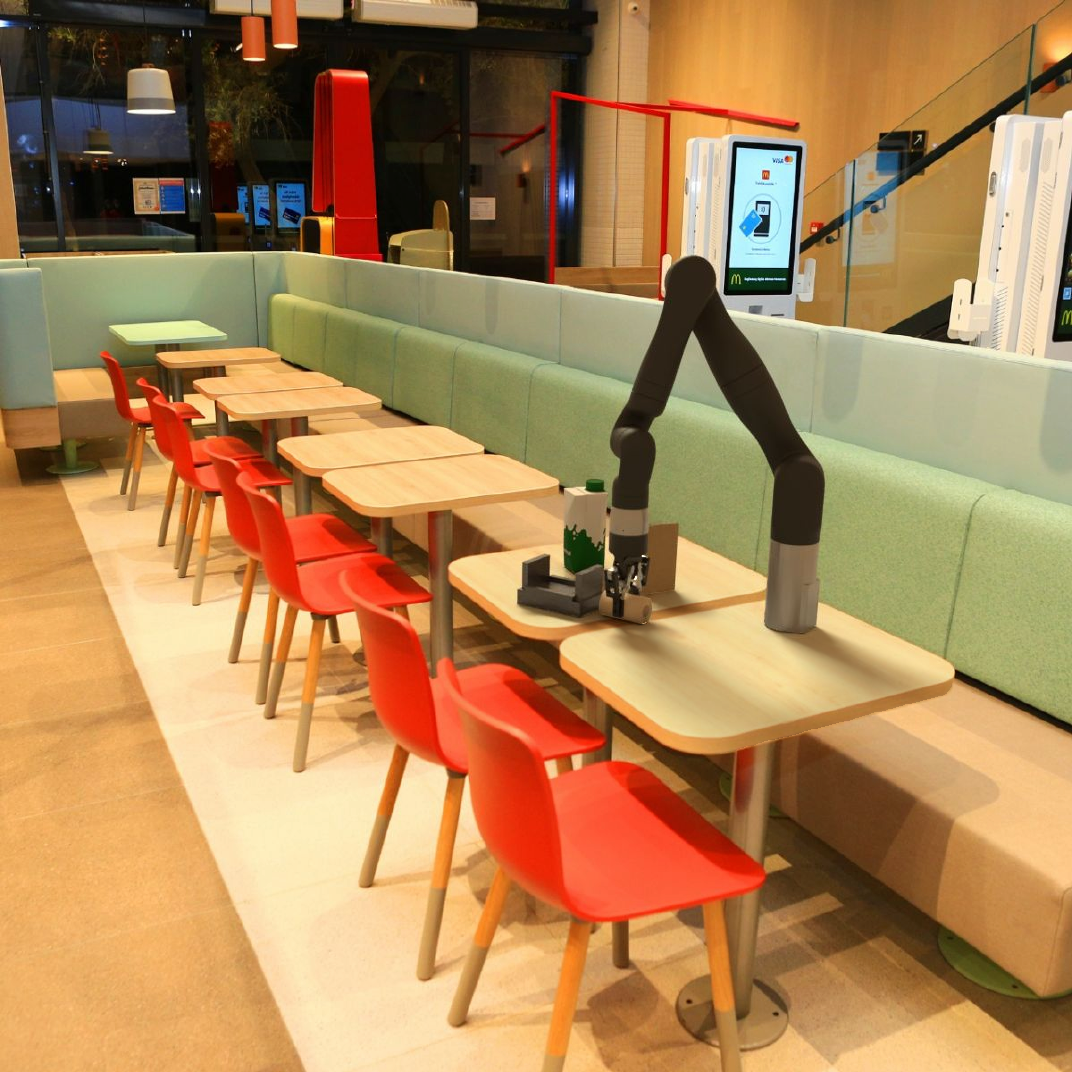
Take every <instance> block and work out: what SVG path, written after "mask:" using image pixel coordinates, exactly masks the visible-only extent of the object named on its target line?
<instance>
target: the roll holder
mask: <svg viewBox="0 0 1072 1072" xmlns="http://www.w3.org/2000/svg"><path fill="white" fill-rule="evenodd" d="M550 572H551V554H548V553H543V554H540V555H537V556H535V557H533V558H530V559H527V560H524V561H522V563H521V587H519V588H517V590H516V591H517V595H516V596H517V597H516V602H517V604H519V605H524V606H528V607H532V608H536V609H540V610H545V611H548V612H552V613H557V614H561V615H564V616H570V617H574V618H578V619H580V618H582V617H584V616H587V615H588V614H591V613H592V612H593V613H594V612H595V611H597V610H599V601H600V597H601V595H602V593H603V592H604V591H605V589H604V590H603V588H604V587H603V583H604V582H603V581H604V580H603V578H604V572H603V566H602V565H598V564H597V565H595V566H592V567H590V568H588V569H585V570H583V571H581V572H578V573H576V574H575V579H574V578H571V577H570V578H569V577H566V576H561V575H557V574H551V573H550Z"/></svg>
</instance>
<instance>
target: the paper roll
mask: <svg viewBox="0 0 1072 1072" xmlns="http://www.w3.org/2000/svg"><path fill="white" fill-rule="evenodd" d="M611 591H612V589H611ZM612 605H613V599H612V598H610V597H606V591H605V590H604V592H603V593H602V595H601V597H600V601H599V609H598V610H599V611H598V612H599V614H601V616H605V617H610V618H614V619H619V620H623V621H626V622H632V623H635V624H641V625H643V624H642V623H645V622H647V623H648V622H649V621H650V619H651V616H652V612H653V602H652V599H651V598H650V597H646V596H641V595H639V596H637V595H633V594H628V592H626V593H625V597H624V616H623V617H622V618H618V617H614V616H613V615H612Z"/></svg>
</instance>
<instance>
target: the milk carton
mask: <svg viewBox="0 0 1072 1072" xmlns="http://www.w3.org/2000/svg"><path fill="white" fill-rule="evenodd" d="M609 495H610V493H608V492H607V491H606V490H605V480H602V479H599V478H598V479H596V478H591V479H589V478H588V479H586V480H585V486H574V487H564V488H563V501H564V502H563V545H562V546H563V566H564V565H565V566H566V567H565V566H564V567H565V568H566V569H568V570H569V571H570V570H571V571H572V572H573V573H572V572H571V571H570V572H571V573H572V574H574V575H576V573H578V572H581V571H583V570H585V569H588V568H590V567H592V566H595V565H597V564H598V565H602V566H603V573H604V570H605V559H606V558H605V557H606V534H607V533H606V530H607V529H606V528H607V508H608V507H607V506H608V500H609Z"/></svg>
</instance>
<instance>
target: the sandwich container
mask: <svg viewBox="0 0 1072 1072" xmlns="http://www.w3.org/2000/svg"><path fill="white" fill-rule="evenodd" d="M679 527H680V524H679V523H678V522H671V523H668V522H666V523H658V524H651V525H650V524H649V533H648V552H647V553H646V554H645V555H644V556H648V557H650V563H649V570H648V576H647V583H646V586H642V590H641V591H640V592H639V595H640V596H641V595H650V594H658V593H659V594H660V593H667V592H675V591H676V576H677V575H676V574H677V563H678V562H677V559H678V545H679V544H678V543H679V531H680V530H679ZM642 577H643V574H642ZM619 583H624V581H619Z"/></svg>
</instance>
